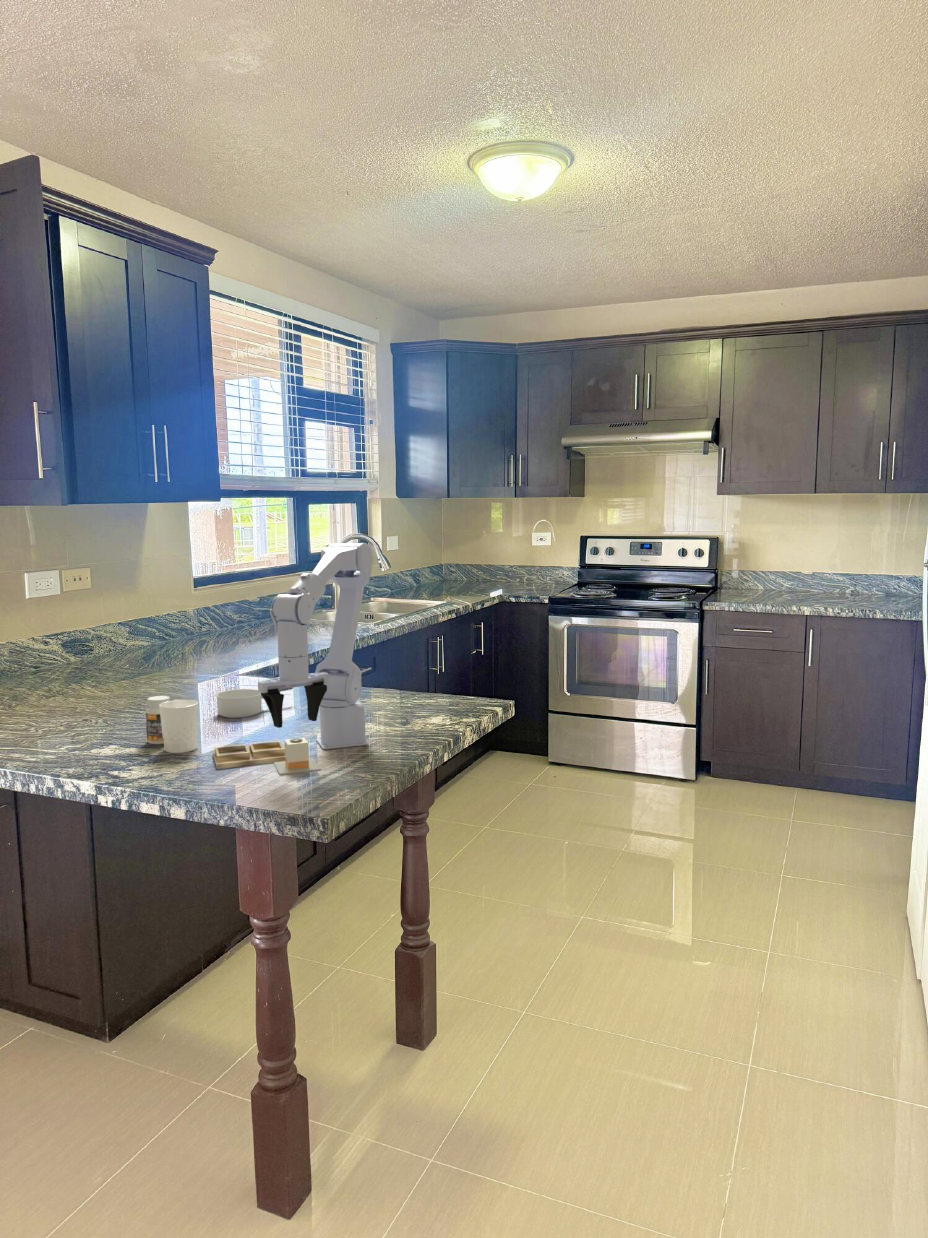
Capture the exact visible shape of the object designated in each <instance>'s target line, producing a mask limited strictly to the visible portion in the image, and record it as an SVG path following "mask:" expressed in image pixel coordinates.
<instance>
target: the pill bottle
mask: <svg viewBox="0 0 928 1238" xmlns="http://www.w3.org/2000/svg"><path fill="white" fill-rule="evenodd" d="M167 701H171V697H170V696H168V695H155V696H150V697H147V705H148V707H147V708H146V710H145V725H146V726H145V727H146V742H147V743H148V744H151V745H164V739H163V735H162V727H161V718H160V708H159V705H160V704H161V703H164V702H167Z"/></svg>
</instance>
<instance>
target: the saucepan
mask: <svg viewBox="0 0 928 1238" xmlns="http://www.w3.org/2000/svg"><path fill="white" fill-rule="evenodd" d="M293 689H294V687H293V688H287V689H281V690H278V692H279V691H280V693H282V692H286V691H291V690H293ZM214 696H215V697H216V703H217V705H216V706H217V715H218V716H221V717H224V718H228V719H229V718H230V719H233V718H234V719H235V718H247V717H253V716H256V715H258V714H259V713H261V712H262V710H263V709H262V708H263V707H262V700H264V699H263V697H262V695H261V692H258V689H256V688H255V689H254V688H237V689H228V690H223V691H222V690H221V691H219V692H217V693H215V695H214Z"/></svg>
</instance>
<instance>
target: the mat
mask: <svg viewBox="0 0 928 1238" xmlns="http://www.w3.org/2000/svg"><path fill="white" fill-rule="evenodd" d="M273 766H274V767H275V769H276V770H277V773H278V775H279V776H285V775H286V776H287V775H294V774H300V773H310V772H317V771H318V772H319V771H322V768H321V767H320V765H319V764H318V763H317V761H316V759H315V758H314V757H311V758H309V767H307V768H298V769H289V770H288V768H287V766H286V764H285V761H280V762H273Z"/></svg>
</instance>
